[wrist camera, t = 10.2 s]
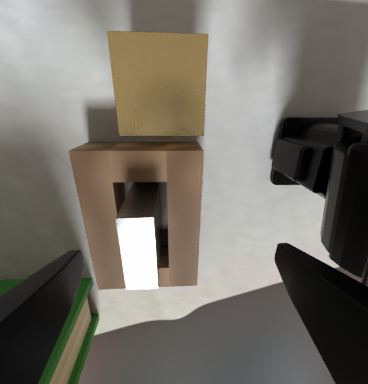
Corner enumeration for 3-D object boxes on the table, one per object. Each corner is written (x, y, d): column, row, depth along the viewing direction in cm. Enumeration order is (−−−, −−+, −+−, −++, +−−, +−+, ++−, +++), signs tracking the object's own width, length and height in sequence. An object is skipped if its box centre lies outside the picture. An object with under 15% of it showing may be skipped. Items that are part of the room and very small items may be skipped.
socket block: (197, 141, 19) (203, 150, 16) (193, 258, 25) (196, 285, 21) (88, 141, 19) (68, 151, 15) (109, 261, 24) (98, 289, 20)
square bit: (193, 61, 17) (208, 34, 10) (192, 125, 19) (203, 135, 12) (132, 59, 16) (107, 30, 10) (137, 124, 18) (119, 135, 12)
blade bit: (158, 181, 20) (153, 217, 14) (161, 236, 23) (158, 288, 16) (133, 181, 20) (115, 218, 13) (138, 236, 22) (126, 289, 16)
